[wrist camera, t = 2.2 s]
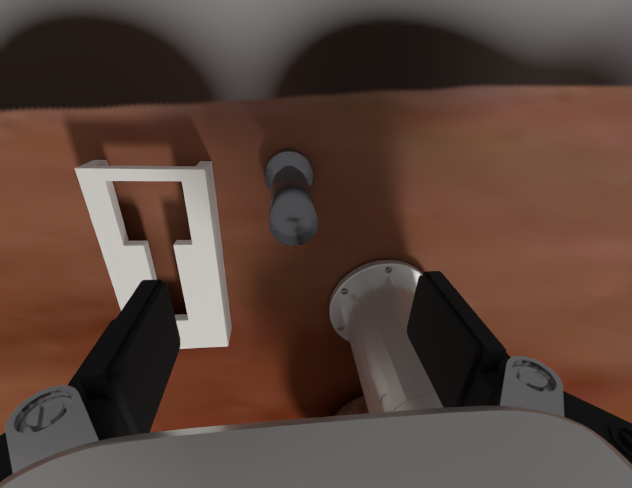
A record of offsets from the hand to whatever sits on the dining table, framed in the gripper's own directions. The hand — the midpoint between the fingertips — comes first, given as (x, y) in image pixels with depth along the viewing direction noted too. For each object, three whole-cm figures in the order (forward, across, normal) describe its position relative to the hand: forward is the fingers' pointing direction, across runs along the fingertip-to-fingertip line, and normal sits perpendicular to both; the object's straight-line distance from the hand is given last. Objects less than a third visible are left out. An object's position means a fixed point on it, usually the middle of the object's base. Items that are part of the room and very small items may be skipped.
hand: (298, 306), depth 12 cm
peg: (+20, 0, 0) cm, 20 cm away
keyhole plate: (+20, +12, +9) cm, 25 cm away
